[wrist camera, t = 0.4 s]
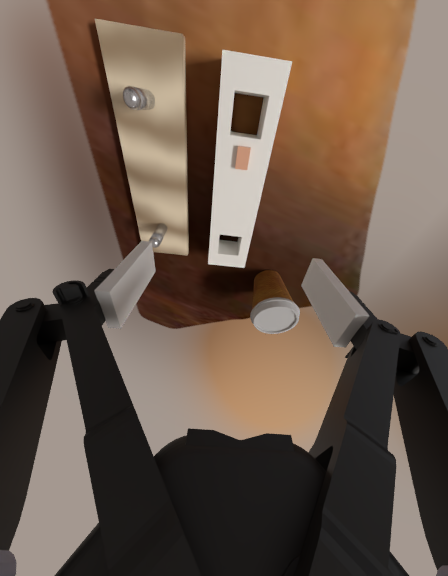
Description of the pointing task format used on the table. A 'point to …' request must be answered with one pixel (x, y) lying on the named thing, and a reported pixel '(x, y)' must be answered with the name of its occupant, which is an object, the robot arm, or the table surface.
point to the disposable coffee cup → (272, 304)
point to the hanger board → (151, 125)
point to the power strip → (243, 152)
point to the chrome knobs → (144, 101)
